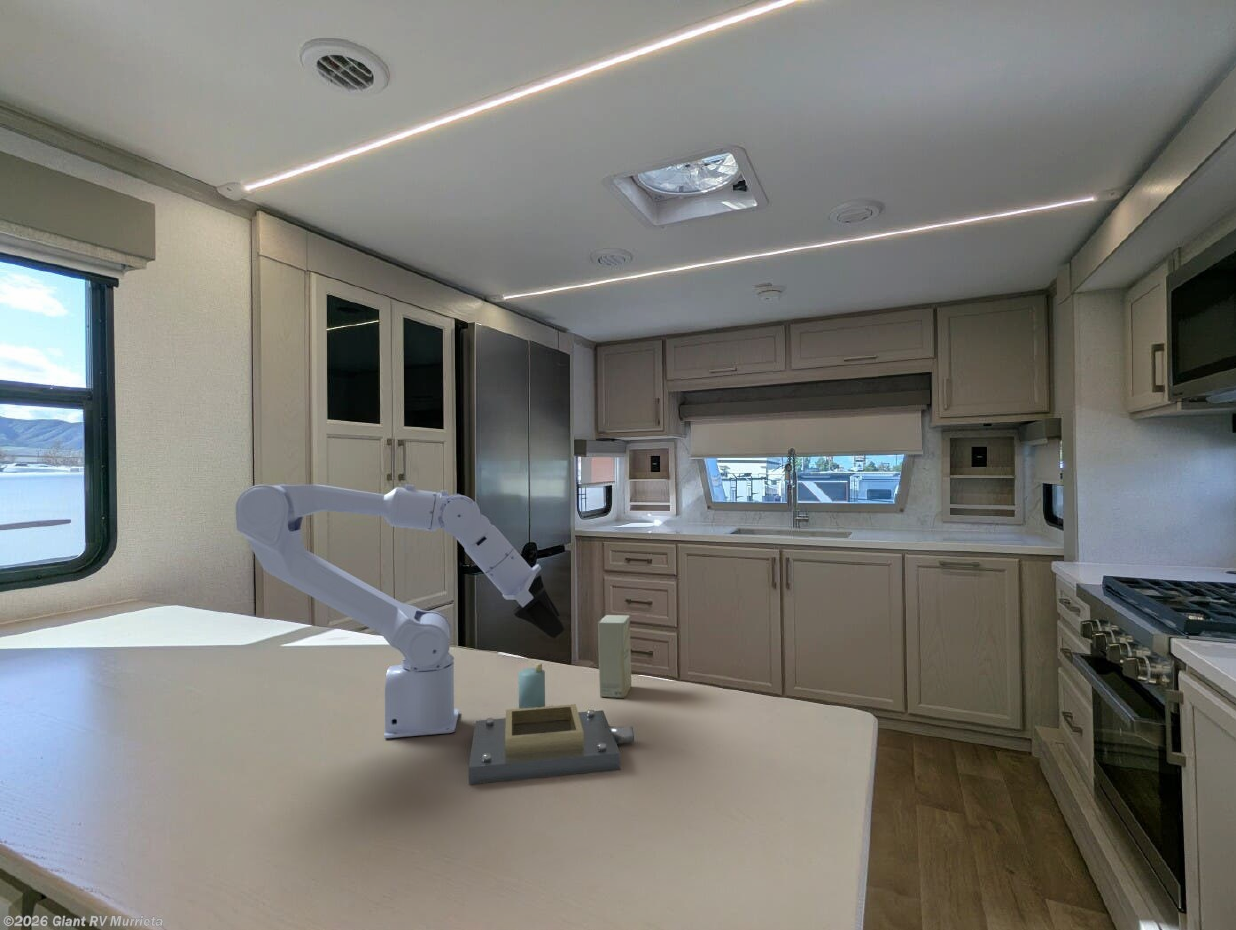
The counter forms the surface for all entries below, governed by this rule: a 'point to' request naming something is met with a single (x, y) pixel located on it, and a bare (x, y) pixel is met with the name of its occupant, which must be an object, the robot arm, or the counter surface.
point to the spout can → (532, 687)
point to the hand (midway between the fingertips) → (556, 626)
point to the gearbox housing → (544, 744)
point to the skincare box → (614, 656)
